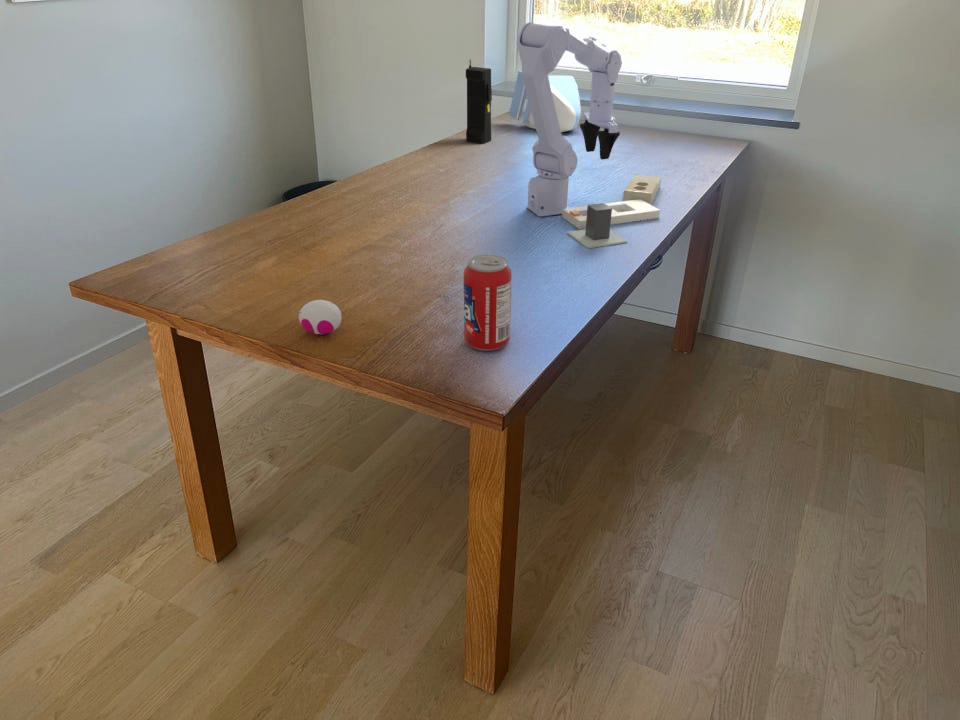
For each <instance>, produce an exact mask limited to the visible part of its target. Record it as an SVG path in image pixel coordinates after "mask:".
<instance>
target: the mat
mask: <svg viewBox="0 0 960 720" xmlns="http://www.w3.org/2000/svg"><path fill="white" fill-rule="evenodd" d="M585 232H586V228H584V229H578V230H571V231H570V230H569V231H566V233H567V235H568V236H570V237H572V238H573V240H575V241H576V242H578V243H580V245H583V246H584V247H585V248H586V249H587V250H589V249H594V248H601V247H607V246H613V245H620V244H626V243H628V240H627V239H625V238H623V237H622V236H620V235H618V234H617V233H616V232H614V231H613V230H611V229H610V234H609V238H608V239H600V240H592V239H591V238H589V237H588V236H587V235H585Z"/></svg>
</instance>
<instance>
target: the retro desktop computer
mask: <svg viewBox="0 0 960 720" xmlns="http://www.w3.org/2000/svg"><path fill="white" fill-rule="evenodd" d="M548 78H549V83H550V87H551V91H552V96H553V100H554V104H555V109H556V113H557V117H558V122H559V126H560V130H561V133H564V132H569V131H573V130H575V129H577V127H578V125H579V124H580V123H579V122H580V120H581V115H582V109H581V100H580V99H581V98H580V93H579V92H580V91H579V87H578V86H579V85H578V84H577V82H576V80H575V78H574V76H572V75H549V74H548ZM513 90H514V91H513V95H512V99H511V104H510V107H509V112H508V115H509V116H511V118H513V119H515V120H517V121H520V118H522V115H523V119H522V123H521V124H523V125H524V126H525V127H527V128H530V129H534V130H536V127H535V123H534V120H533V116H532V112H531V108H530V104H529V100H528V99H527V101H526V98H527V92H526V89H525V85H524V81H523V77H522V70H520V69H519V70H518V72H517V77H516V80H515V85H514V89H513ZM525 102H526V106H525ZM524 106H525V107H524ZM524 108H525V110H524ZM523 111H524V112H523ZM523 113H524V114H523Z"/></svg>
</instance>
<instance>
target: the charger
mask: <svg viewBox="0 0 960 720" xmlns="http://www.w3.org/2000/svg"><path fill="white" fill-rule="evenodd" d="M587 206H588V207H587V220H586V228H585V229H586V232H585V235H587V236H588V237H589V238H591V239H592V240H600V239H608V238H609V234H610V230H611V225H610V224H611V214H612V208H610V207H609V206H607V205H606V203H603V202H602V203H593V204H588V205H587Z"/></svg>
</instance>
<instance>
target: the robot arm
mask: <svg viewBox="0 0 960 720" xmlns="http://www.w3.org/2000/svg"><path fill="white" fill-rule="evenodd" d="M597 40H598V39H597V38H596V37H593V36H588V37H585V38H583V39H582V38H580V37H579V36H578V35H576V34H574V33H573V32H572V31H570V28H567V27H564V26H563V25H552V24H551V25H548V24H539V23H534V22H527V23H525V24H524V25H523V26H522V27H521V29H520V31H519V34H518V38H517V40H516V47H517V50H518V54H519V58H520V62H521V71H522V77H523V81H524V85H525V89H526V92H527V94H526V97H527V101H528V100H529V104H530V108H531V112H532V116H533V120H534V123H535V127H536V129H535V130H536V133H537V134H536V135H537V139H536V141H535V142H534V144H533V146H532V148H531V149H532V153H533V154H532V164H533V167H534V168H535V170H537V172H536V175H537V176H534V177H533V176H532V177H530V178H529V181H528V188H527V204H526V206H525V207H526V209H528V210H530V211H531V212H532V213H533V214H535V215H536V216H538V217H548V216H550V217H551V216H554V215H555V216H557V215H562V211H563V209H567V208H570V207H569V206H568V196H569V195H568V194H569V182H570V181H569V178H570V177H572V175H573V174H574V172H576V169H577V167H578V156H577V153H576V152H575V150H574V149H573V146H572V143H571V142H570V141H569V140H567V139H566V138H565V137H564V136H563V135H562V132H561V130H560V126H559V122H558V117H557V113H556V109H555V104H554V100H553V96H552V91H551V87H550V83H549V78H548V75H549V73H552V72H554V71H555V69H556V68H557V66H558V65H559V64H560V63H559V62H560V61H561V59H562V57H563V55H565V52H566V51H567V52H569V53H571V54H573V56H574V58H575V60H576V62H577V63H579V64H581V65H583V66H585V67H587V68H588V71H589V73H592V75H591V85H590V88H591V89H590V99H589V112H582V113H583V116H582V121H583V122H581V123H579V127H580V130H581V132H582V136H583V138H584V139H583V140H584V141H583V142H584V146H585V151H586V152H587V153H589V152H590V153H591V152H595V151H596V146H597V139H598V141H599V159H600V160H608V159H610V155H611V153H612V150H613V147H614V145H615V142H616V141H617V140H618V138H619V136H620V135H621V132H620V131H619V124H617V123H616V122H615V121H616V118H615V117H614V116H613V108H614V99H615V98H614V97H615V85H616V83H617V80H618V78H619V73H620V70H621V68H622V64H623V61H622V57H621V54H620V53H619V52H618V51H617V50H615V49H608V48H607V45H606V44H604V43H599V42H597ZM600 129H603V130H600Z"/></svg>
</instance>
